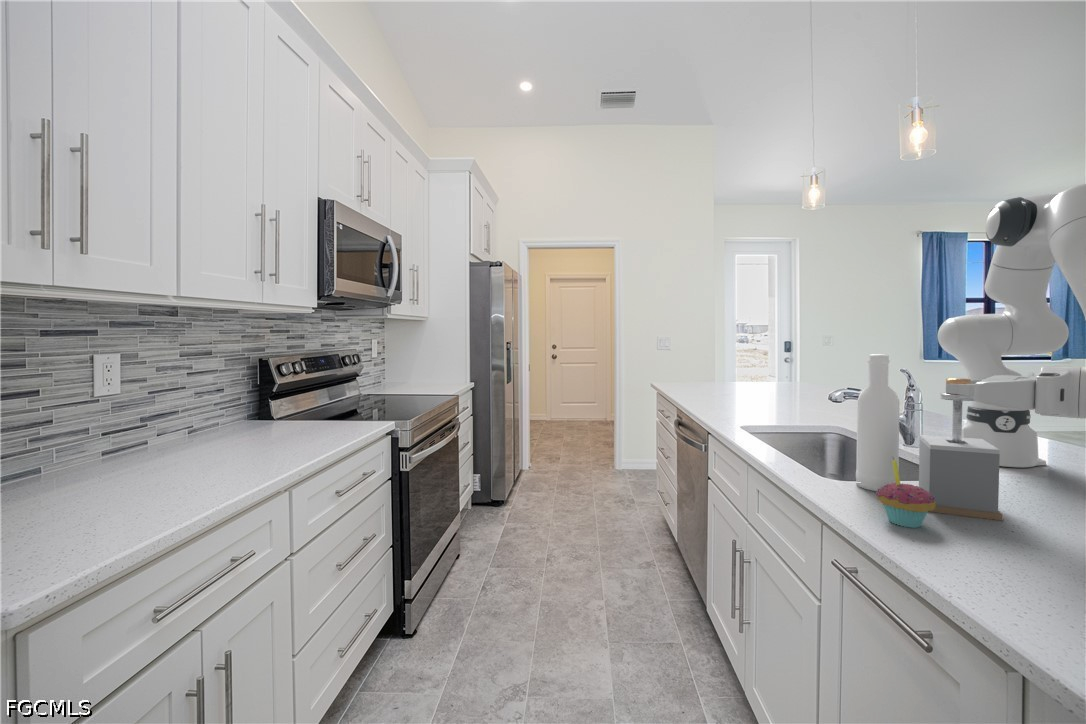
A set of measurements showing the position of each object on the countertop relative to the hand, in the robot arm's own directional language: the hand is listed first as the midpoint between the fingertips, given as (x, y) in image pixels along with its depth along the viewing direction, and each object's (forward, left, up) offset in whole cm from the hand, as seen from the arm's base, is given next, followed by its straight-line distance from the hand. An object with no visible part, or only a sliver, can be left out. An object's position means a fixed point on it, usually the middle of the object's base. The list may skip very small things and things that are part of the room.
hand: (952, 386), depth 93 cm
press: (0, +1, -24) cm, 24 cm away
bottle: (-8, -11, -24) cm, 28 cm away
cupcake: (+14, -9, -24) cm, 30 cm away
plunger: (0, +1, -16) cm, 16 cm away
